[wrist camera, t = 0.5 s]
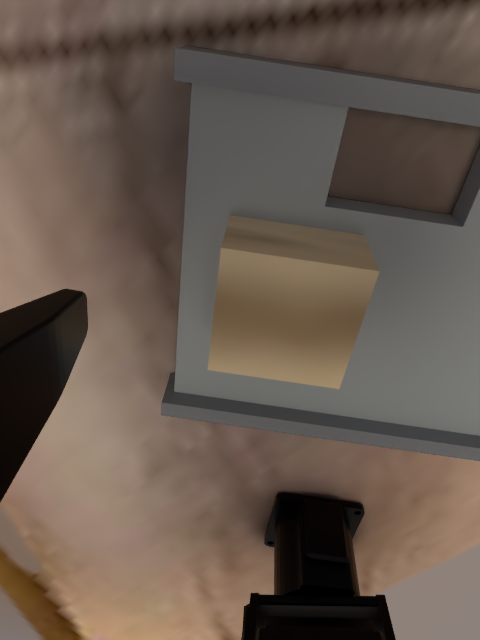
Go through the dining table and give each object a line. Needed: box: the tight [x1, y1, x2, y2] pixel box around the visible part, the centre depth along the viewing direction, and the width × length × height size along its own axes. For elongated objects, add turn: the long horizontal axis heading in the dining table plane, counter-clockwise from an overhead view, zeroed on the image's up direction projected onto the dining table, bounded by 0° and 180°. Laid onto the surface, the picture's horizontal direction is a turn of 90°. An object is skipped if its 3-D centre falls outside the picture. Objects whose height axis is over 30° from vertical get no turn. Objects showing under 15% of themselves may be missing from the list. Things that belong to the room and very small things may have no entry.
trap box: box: [161, 46, 480, 461], centre depth 21 cm, size 18×28×4 cm, turn 83°
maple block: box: [207, 215, 380, 389], centre depth 19 cm, size 6×6×4 cm
